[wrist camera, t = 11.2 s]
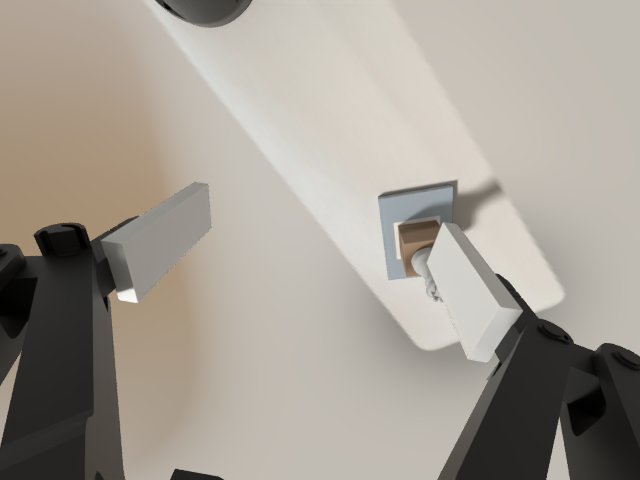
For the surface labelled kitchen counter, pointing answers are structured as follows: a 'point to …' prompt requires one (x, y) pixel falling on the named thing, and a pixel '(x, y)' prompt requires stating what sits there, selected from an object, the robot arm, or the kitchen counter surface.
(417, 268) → the rook chess piece
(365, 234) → the kitchen counter surface
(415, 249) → the walnut cube
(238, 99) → the kitchen counter surface
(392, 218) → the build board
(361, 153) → the kitchen counter surface
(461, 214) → the kitchen counter surface
